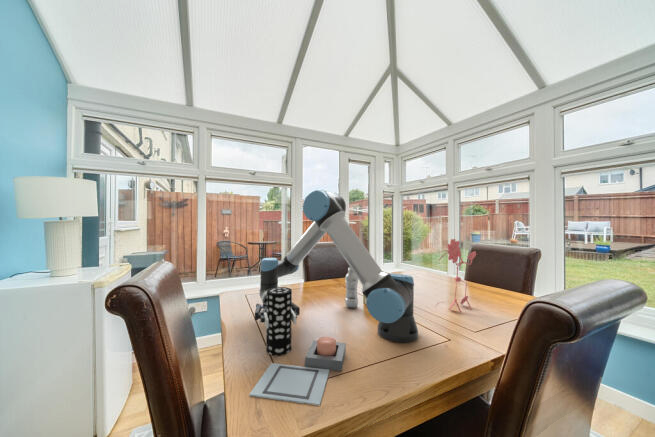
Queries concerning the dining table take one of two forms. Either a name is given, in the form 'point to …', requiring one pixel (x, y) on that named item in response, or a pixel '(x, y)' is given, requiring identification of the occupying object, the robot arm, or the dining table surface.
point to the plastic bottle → (351, 289)
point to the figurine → (453, 255)
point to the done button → (326, 346)
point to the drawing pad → (292, 384)
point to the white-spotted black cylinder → (279, 321)
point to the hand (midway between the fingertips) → (281, 322)
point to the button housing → (325, 358)
